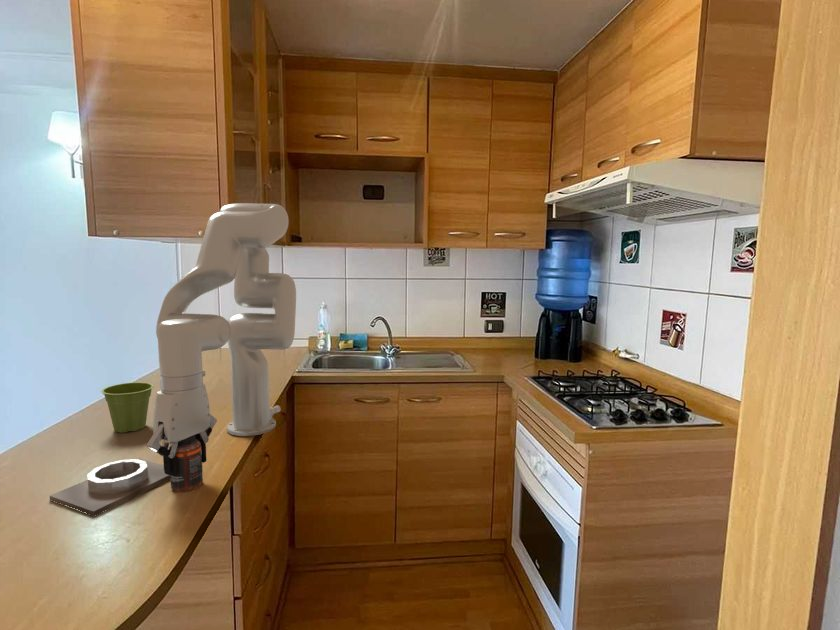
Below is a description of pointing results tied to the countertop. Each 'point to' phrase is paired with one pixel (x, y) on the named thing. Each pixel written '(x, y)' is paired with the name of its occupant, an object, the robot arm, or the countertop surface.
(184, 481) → the supplement bottle
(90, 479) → the steel collar
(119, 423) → the plant pot
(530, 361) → the countertop surface
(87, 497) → the holder board
